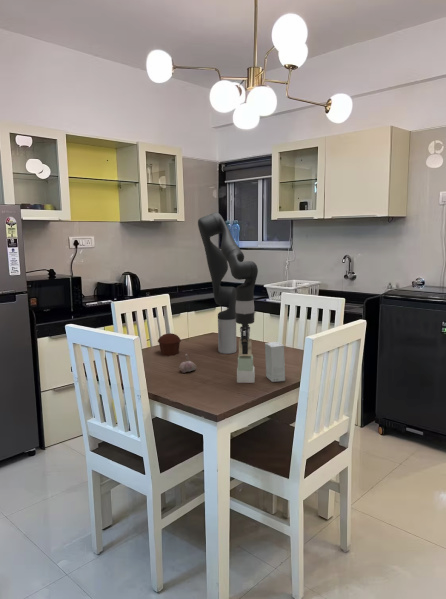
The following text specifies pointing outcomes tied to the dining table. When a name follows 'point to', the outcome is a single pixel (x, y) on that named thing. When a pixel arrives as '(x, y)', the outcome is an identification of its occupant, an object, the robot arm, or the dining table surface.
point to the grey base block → (246, 376)
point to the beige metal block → (248, 347)
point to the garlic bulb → (187, 366)
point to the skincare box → (275, 361)
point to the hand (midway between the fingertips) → (245, 351)
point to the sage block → (245, 363)
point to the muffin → (169, 344)
